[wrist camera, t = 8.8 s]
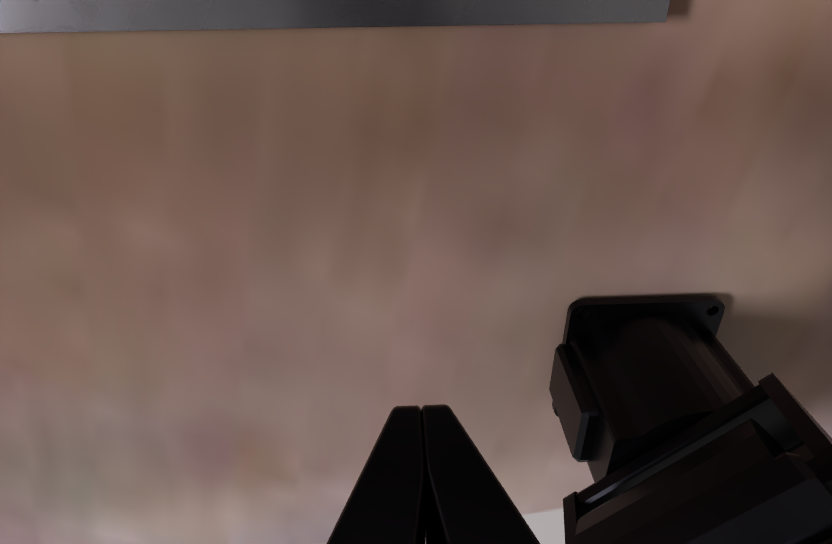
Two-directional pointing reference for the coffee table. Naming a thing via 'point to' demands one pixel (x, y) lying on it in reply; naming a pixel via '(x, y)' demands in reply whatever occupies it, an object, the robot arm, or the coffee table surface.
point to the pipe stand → (311, 13)
